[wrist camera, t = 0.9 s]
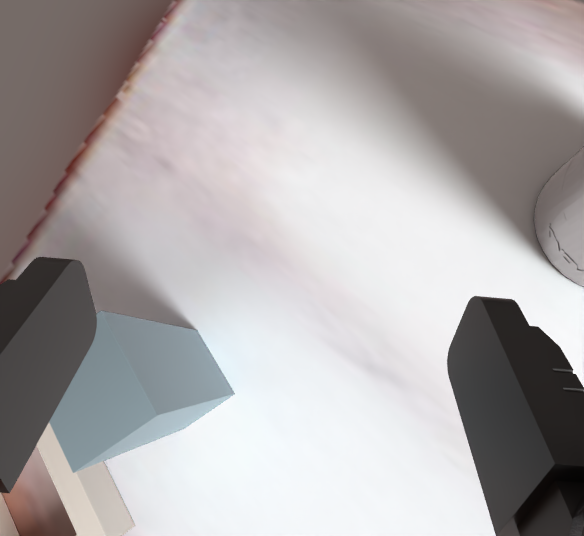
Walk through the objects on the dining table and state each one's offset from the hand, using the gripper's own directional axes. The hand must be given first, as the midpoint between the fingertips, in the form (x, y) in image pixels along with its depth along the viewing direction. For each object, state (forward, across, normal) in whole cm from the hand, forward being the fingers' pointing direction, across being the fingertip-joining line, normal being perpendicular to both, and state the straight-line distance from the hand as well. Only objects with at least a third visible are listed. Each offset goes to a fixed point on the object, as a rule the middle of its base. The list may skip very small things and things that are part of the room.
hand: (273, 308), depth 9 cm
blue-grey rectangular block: (+12, +6, +18) cm, 22 cm away
